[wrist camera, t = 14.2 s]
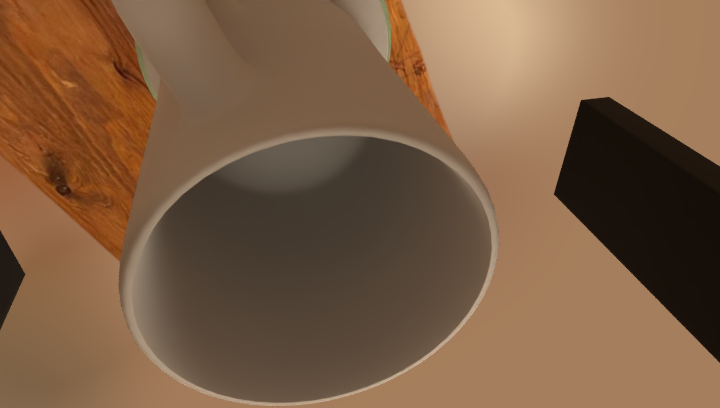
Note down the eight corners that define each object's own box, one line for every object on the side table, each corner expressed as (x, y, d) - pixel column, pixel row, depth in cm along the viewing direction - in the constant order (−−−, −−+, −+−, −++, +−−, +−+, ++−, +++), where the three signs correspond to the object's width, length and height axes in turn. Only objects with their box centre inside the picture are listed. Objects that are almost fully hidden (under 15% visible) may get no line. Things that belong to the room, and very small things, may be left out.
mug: (406, 132, 22) (533, 316, 13) (239, 216, 22) (255, 448, 14) (276, -184, 14) (369, -242, 6) (29, -48, 15) (-232, 91, 6)
